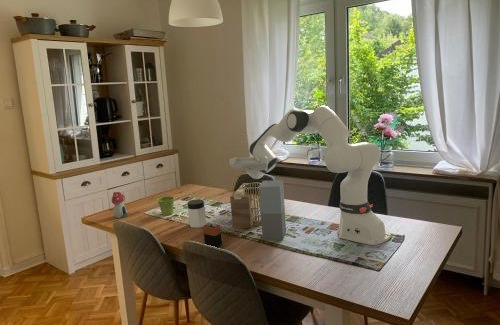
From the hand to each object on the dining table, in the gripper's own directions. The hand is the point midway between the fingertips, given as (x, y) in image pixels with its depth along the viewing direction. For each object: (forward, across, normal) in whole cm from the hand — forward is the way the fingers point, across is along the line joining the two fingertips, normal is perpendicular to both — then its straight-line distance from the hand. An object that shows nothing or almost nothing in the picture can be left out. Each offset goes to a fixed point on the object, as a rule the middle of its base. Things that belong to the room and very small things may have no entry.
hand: (245, 158), depth 195 cm
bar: (+3, 0, +19) cm, 19 cm away
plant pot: (-16, -47, +26) cm, 56 cm away
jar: (-2, -24, +33) cm, 41 cm away
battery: (+18, -8, +45) cm, 49 cm away
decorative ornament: (-12, -73, +27) cm, 79 cm away
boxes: (+2, +8, +36) cm, 37 cm away
